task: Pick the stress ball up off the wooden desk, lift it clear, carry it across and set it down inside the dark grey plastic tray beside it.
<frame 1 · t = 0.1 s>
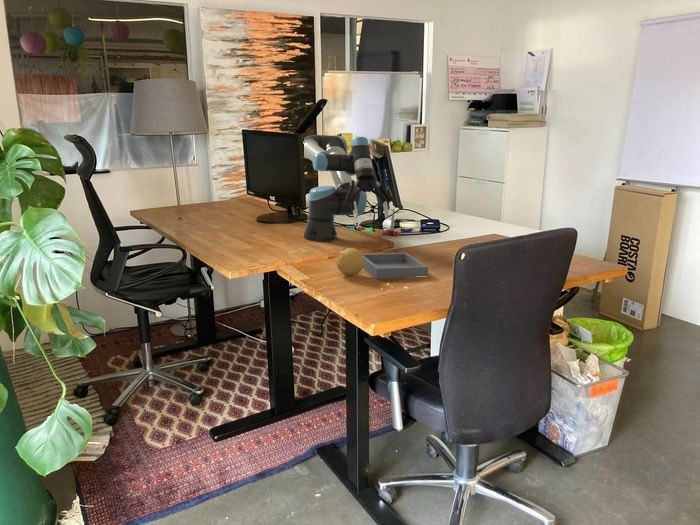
hand: (371, 217, 226), 15 cm above the table, tool tilted 35°, fingers open, 13 cm apart
stress ball: (349, 275, 198), on the table
tray: (391, 270, 207), on the table
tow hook: (391, 234, 269), on the table
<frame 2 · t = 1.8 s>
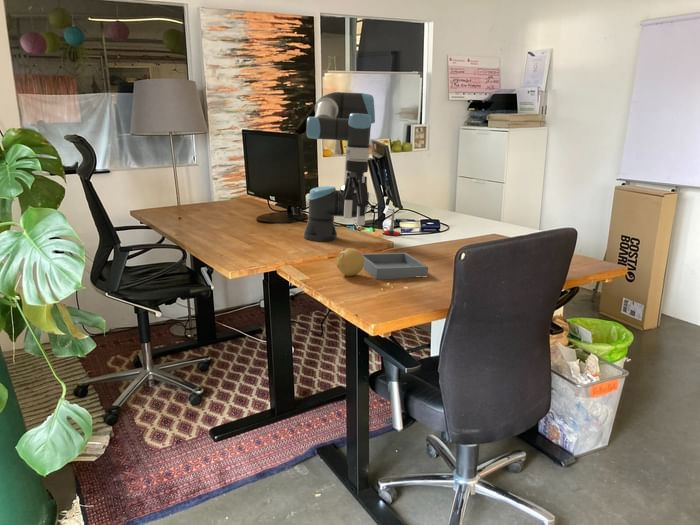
hand: (353, 221, 193), 20 cm above the table, tool pointing down, fingers open, 13 cm apart
nothing on the table moved.
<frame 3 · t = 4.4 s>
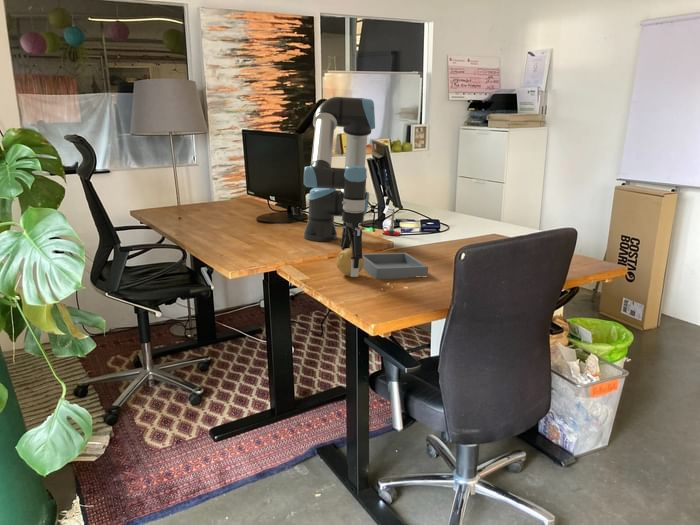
hand: (349, 272, 197), 1 cm above the table, tool pointing down, fingers closed on stress ball, 10 cm apart
stress ball: (349, 275, 198), on the table, touching gripper
everything else where it was.
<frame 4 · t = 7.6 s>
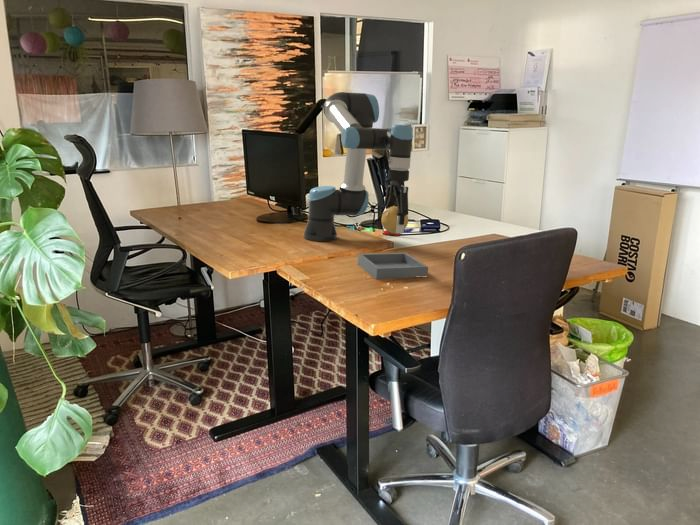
hand: (393, 229, 203), 16 cm above the table, tool pointing down, fingers closed on stress ball, 10 cm apart
stress ball: (393, 233, 203), point 14 cm above the table, touching gripper
everything else where it was.
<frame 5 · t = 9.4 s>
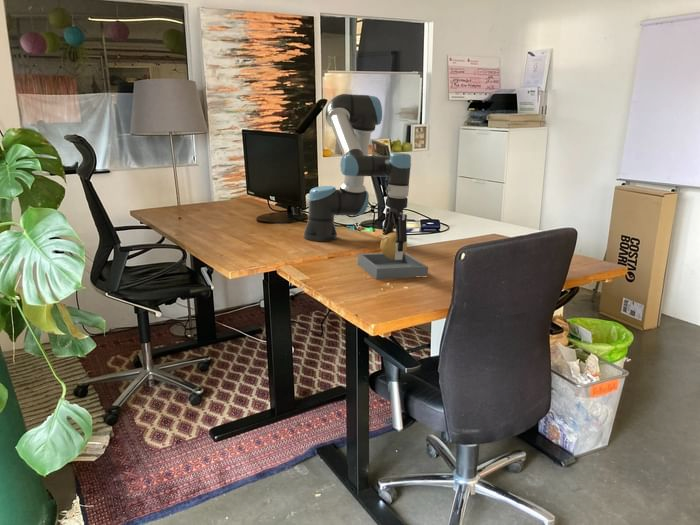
hand: (392, 255, 205), 6 cm above the table, tool pointing down, fingers closed on stress ball, 10 cm apart
stress ball: (392, 259, 206), point 4 cm above the table, touching gripper
everything else where it was.
when the fingers open (4 cm above the table, at t = 10.7 s): stress ball drops 2 cm, resting on tray.
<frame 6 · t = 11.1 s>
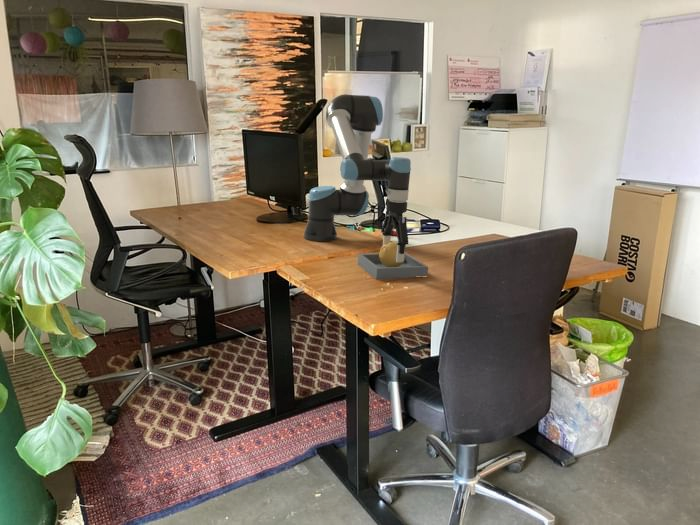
hand: (392, 257, 205), 5 cm above the table, tool pointing down, fingers open, 13 cm apart
stress ball: (391, 268, 207), point 1 cm above the table, touching tray
everything else where it was.
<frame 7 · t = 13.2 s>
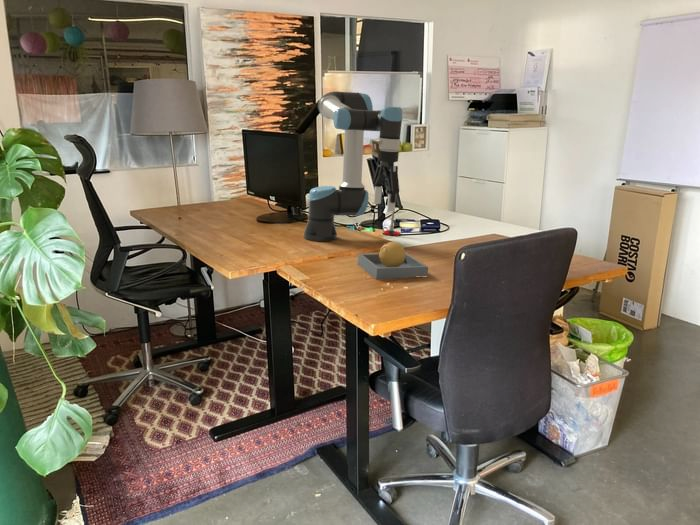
hand: (383, 207, 208), 23 cm above the table, tool pointing down, fingers open, 13 cm apart
nothing on the table moved.
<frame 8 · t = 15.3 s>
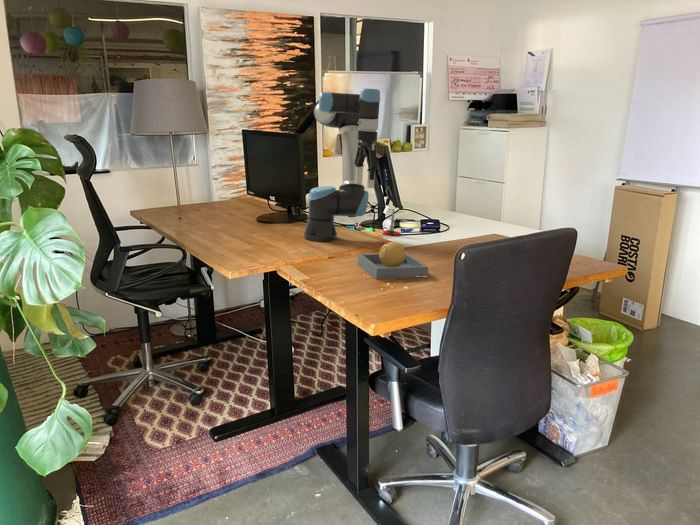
hand: (364, 185, 218), 29 cm above the table, tool pointing down, fingers open, 13 cm apart
nothing on the table moved.
at the end: stress ball inside the target area on the tray (0.6 cm from its centre), point 0.6 cm above the tray's base; the gripper is holding nothing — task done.
